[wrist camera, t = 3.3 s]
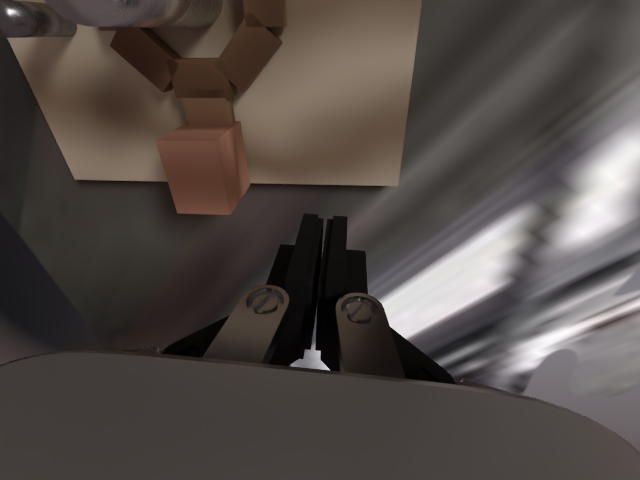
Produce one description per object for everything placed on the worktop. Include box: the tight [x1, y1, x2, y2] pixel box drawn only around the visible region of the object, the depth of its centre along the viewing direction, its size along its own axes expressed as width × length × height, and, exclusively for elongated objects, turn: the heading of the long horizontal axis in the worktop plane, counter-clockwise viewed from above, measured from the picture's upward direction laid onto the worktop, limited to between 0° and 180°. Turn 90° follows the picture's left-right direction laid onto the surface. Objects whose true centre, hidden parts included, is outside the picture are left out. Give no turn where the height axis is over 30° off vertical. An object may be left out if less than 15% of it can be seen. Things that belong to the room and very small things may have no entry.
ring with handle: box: [98, 0, 287, 215], centre depth 15 cm, size 15×9×4 cm, turn 1°
